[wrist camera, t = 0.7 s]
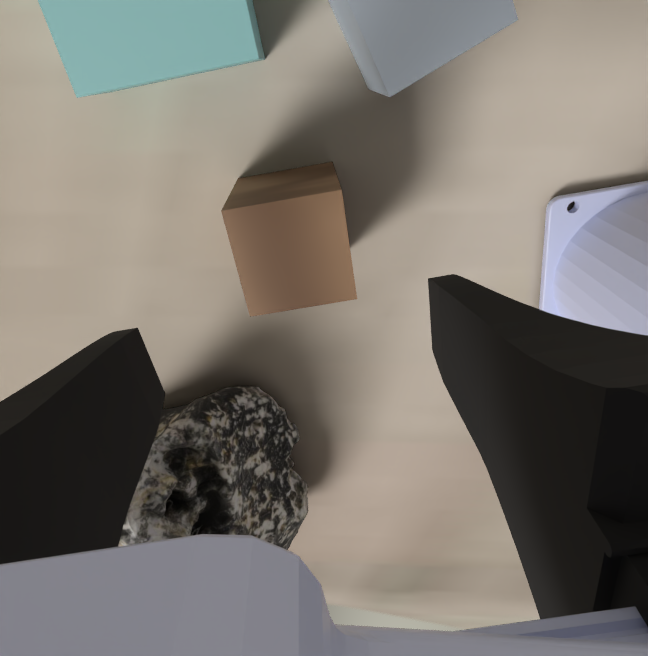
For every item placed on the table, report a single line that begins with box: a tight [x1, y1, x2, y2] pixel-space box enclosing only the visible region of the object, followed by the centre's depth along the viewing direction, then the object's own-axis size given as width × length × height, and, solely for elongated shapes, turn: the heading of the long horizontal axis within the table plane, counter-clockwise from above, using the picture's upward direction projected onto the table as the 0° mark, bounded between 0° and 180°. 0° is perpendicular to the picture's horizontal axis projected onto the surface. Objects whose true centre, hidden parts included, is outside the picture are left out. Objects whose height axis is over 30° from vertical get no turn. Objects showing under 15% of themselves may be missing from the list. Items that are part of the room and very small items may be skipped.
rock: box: [118, 386, 308, 550], centre depth 26 cm, size 13×10×10 cm
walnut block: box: [221, 162, 357, 317], centre depth 19 cm, size 4×4×5 cm
